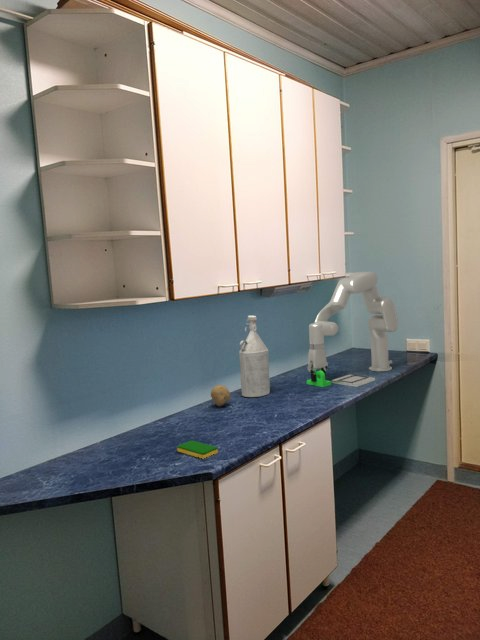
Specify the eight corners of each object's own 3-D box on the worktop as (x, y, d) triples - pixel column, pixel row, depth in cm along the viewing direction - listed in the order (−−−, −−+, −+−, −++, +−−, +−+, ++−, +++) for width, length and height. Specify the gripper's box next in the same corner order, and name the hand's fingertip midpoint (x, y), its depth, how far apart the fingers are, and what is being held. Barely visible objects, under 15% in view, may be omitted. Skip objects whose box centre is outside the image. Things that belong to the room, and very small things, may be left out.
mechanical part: (331, 384, 264) (330, 369, 263) (322, 387, 260) (322, 371, 260) (314, 381, 273) (314, 367, 273) (306, 383, 270) (305, 369, 269)
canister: (234, 396, 253) (229, 317, 249) (257, 389, 266) (252, 313, 262) (254, 400, 244) (248, 318, 240) (276, 391, 257) (271, 314, 253)
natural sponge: (224, 402, 244) (223, 381, 243) (234, 405, 236) (233, 384, 236) (208, 406, 239) (206, 385, 238) (218, 409, 232) (216, 388, 231)
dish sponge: (192, 446, 186) (191, 440, 186) (218, 453, 177) (217, 447, 177) (177, 452, 181) (176, 445, 181) (203, 460, 172) (202, 453, 171)
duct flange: (349, 377, 278) (349, 373, 278) (375, 380, 266) (374, 377, 266) (331, 382, 268) (331, 379, 268) (356, 386, 256) (356, 383, 256)
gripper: (322, 344, 274) (323, 376, 275) (300, 348, 262) (302, 382, 264) (333, 345, 268) (334, 378, 270) (311, 349, 257) (313, 384, 258)
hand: (318, 380), depth 267 cm, fingers open, 7 cm apart
